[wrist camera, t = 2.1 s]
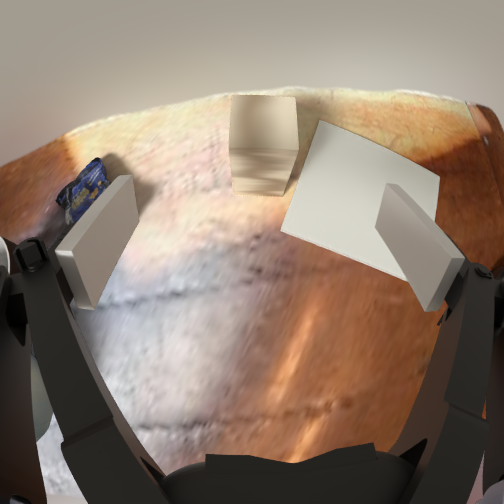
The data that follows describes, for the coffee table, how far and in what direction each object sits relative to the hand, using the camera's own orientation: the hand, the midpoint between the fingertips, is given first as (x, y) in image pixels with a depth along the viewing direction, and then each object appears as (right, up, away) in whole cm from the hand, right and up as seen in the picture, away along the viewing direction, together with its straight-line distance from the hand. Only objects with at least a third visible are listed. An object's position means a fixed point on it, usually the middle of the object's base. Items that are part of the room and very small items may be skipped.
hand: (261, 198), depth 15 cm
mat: (+15, +4, +22) cm, 27 cm away
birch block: (0, +7, +22) cm, 23 cm away
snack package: (-22, +3, +21) cm, 30 cm away
